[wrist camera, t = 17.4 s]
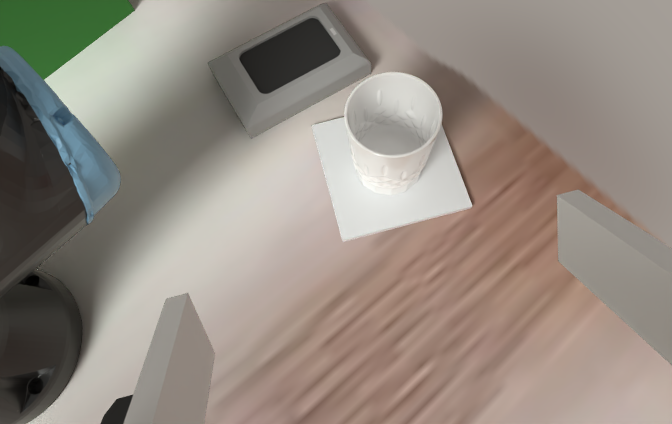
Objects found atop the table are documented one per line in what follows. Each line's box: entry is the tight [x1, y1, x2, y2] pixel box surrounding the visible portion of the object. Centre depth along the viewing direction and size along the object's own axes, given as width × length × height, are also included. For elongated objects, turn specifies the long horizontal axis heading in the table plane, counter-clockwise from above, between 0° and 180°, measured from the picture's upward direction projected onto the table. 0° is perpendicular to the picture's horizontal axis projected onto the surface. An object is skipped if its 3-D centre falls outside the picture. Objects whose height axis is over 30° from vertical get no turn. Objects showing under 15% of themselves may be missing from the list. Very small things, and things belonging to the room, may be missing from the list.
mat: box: [311, 117, 472, 242], centre depth 47 cm, size 13×13×1 cm
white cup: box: [344, 72, 442, 195], centre depth 42 cm, size 8×8×10 cm
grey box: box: [208, 3, 371, 138], centre depth 51 cm, size 10×4×15 cm
